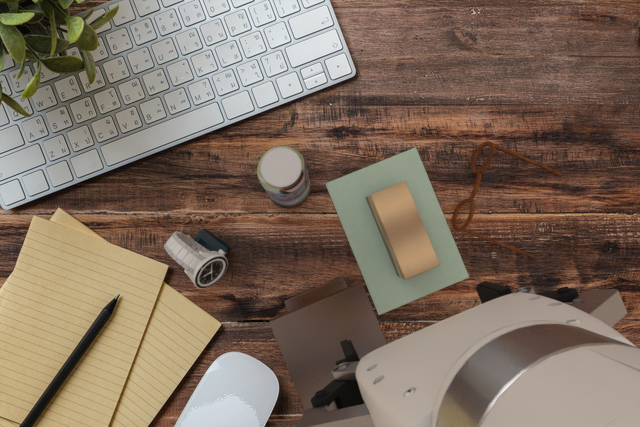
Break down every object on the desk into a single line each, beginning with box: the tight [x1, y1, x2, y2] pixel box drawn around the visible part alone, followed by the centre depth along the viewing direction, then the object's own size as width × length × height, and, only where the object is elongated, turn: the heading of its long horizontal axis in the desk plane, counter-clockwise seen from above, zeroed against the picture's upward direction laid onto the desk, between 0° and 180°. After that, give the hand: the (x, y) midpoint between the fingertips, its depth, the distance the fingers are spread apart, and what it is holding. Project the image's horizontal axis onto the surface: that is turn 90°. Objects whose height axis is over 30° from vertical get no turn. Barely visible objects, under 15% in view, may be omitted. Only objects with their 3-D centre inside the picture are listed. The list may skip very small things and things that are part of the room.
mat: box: [324, 146, 470, 316], centre depth 68 cm, size 20×14×1 cm
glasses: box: [451, 140, 563, 259], centre depth 66 cm, size 13×13×5 cm
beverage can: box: [256, 145, 312, 210], centre depth 62 cm, size 6×7×12 cm
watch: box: [163, 228, 232, 290], centre depth 61 cm, size 6×8×11 cm
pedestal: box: [268, 275, 388, 413], centre depth 57 cm, size 14×10×20 cm
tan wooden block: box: [365, 181, 440, 280], centre depth 65 cm, size 12×5×5 cm, turn 22°
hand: (421, 333), depth 31 cm, fingers open, 9 cm apart
